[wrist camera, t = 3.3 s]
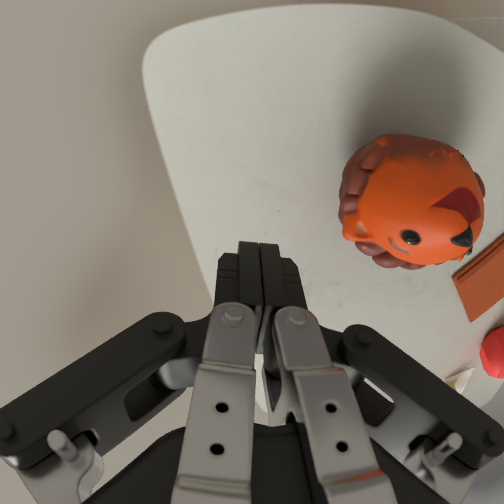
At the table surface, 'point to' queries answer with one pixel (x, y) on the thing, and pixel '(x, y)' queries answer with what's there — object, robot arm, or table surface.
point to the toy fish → (411, 202)
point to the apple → (493, 353)
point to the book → (482, 280)
